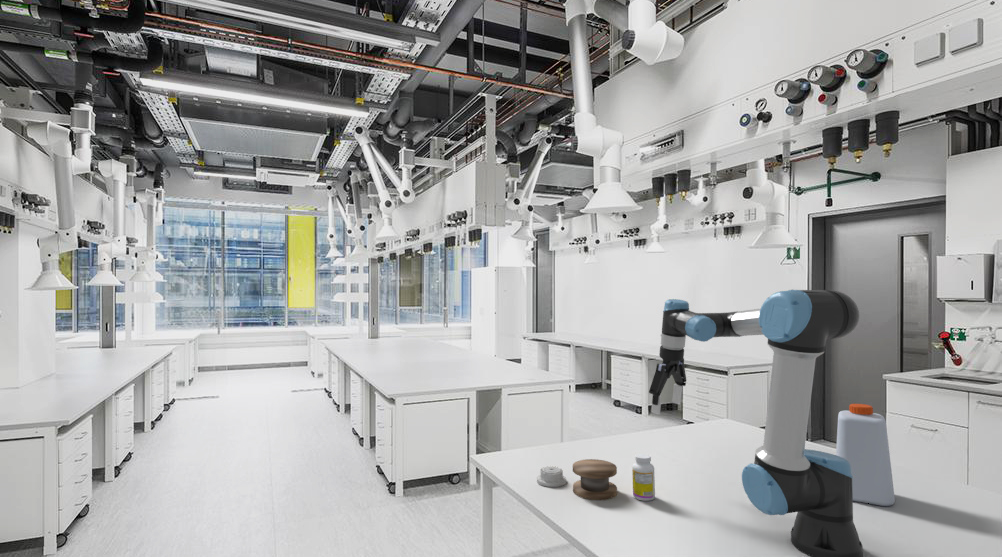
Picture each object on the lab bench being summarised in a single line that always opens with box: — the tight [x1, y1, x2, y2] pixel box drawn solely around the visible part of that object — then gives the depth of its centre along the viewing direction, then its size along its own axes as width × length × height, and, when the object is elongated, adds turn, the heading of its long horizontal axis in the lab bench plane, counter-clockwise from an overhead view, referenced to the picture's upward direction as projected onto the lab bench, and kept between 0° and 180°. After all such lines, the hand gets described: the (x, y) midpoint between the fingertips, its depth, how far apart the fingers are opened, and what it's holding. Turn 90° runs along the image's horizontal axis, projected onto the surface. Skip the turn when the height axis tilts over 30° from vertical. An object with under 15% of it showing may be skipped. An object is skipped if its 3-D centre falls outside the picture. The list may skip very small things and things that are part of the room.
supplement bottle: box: [631, 453, 656, 502], centre depth 160 cm, size 7×7×13 cm
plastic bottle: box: [835, 403, 896, 507], centre depth 160 cm, size 15×15×28 cm
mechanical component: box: [536, 465, 567, 488], centre depth 174 cm, size 10×4×10 cm
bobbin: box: [572, 458, 618, 501], centre depth 165 cm, size 14×14×8 cm
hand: (666, 408), depth 170 cm, fingers open, 13 cm apart
